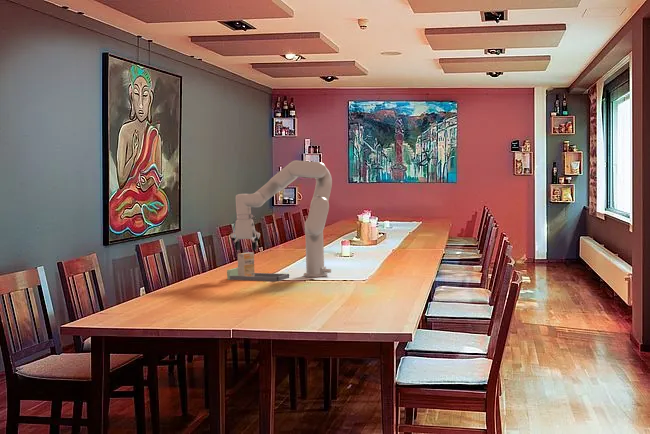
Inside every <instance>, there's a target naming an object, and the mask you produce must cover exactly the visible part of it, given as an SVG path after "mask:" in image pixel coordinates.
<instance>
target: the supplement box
mask: <svg viewBox="0 0 650 434" xmlns="http://www.w3.org/2000/svg"><path fill="white" fill-rule="evenodd" d="M237 267H238V276H255V273H256V272H255V252H252V251H251V252H242V253H241V252H239V253H237Z"/></svg>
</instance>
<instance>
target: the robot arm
mask: <svg viewBox="0 0 650 434" xmlns="http://www.w3.org/2000/svg"><path fill="white" fill-rule="evenodd" d="M298 178H309V179H315V187H314V191H313V195H312V199H311V201H310V203H309V204H310V206H309V207H310V208H309V212H308V215H307V219H306V220H305V222H304V234H305V235H304V236H305V237H304V239H305V263H306V264H305V266H306V267H305V268H306V269H305V271H306V272H304V273H303V276H304V277H306V278H318V277H319V278H320V277H326V276H327V277H328V273H329V274H331V273H332V269H331V268H327V266H325V250H324V249H325V248H324V229H325V227H326V222H327V218H328V214H329V212H330V211H329V210H330V203H329V201H330V196H331V191H332V188H333V187H332V186H333V179H332V178H333V177H332V174H331V173H330V170H329V169H328V168H327V167H326V164H325V163H323V162H320V161H308V160H292V161H291V162H290V163H288V164H287V165H286V166H284V167H283V168H282V169H280V170H279V171H278V172H277V173H276V174H274V175H273V176H272V177H271V178H270V179H269V180H268V181H267V182H266V183H265V184H264V185H262V186H261V187H260V188H259V189H257V190H256V191H255V192H254V193H238V194H236V195H235V211H236V220H235V224H234V226H235V229H234V231H232V232H231V233H230V234H229V235H230V238H231V240H232V241H233V243H234V245H235V246H234V247H235V250H236V251H239V250H240V249H241V243H240V240H251V241H252V242H251V247H252V251H256V250H257V246H258V245H257V242H258V241H259V239H260V237H261V233H260V232H258V231H257V230H256V228H255V222H254V219H252V218H254V214H252V210H251V209H252V208H261V207H262V206H263V205H264V204H265V203H266V202H267V201H269V200H270V199H271V198H272V197H274V196H275V195H276V194H278V193H279V192H282V191H283V190H284V189H286V187H288V186H289V185H290V184H292V183H293V182H294V181H295V180H297V179H298Z"/></svg>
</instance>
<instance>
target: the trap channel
mask: <svg viewBox="0 0 650 434" xmlns="http://www.w3.org/2000/svg"><path fill="white" fill-rule="evenodd" d="M226 275H227V277H226V279H227V281H229V280H231V281H253V282H254V281H256V282H257V281H259V282H262V281H263V282H280V281H284V280H286V279H289V278H290V274H289V273H275V272H274V273H271V272H270V273H267V272H266V273H265V272H263V273H262V272H255V276H238V266H237V267H235V268H230V269H227V270H226Z"/></svg>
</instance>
